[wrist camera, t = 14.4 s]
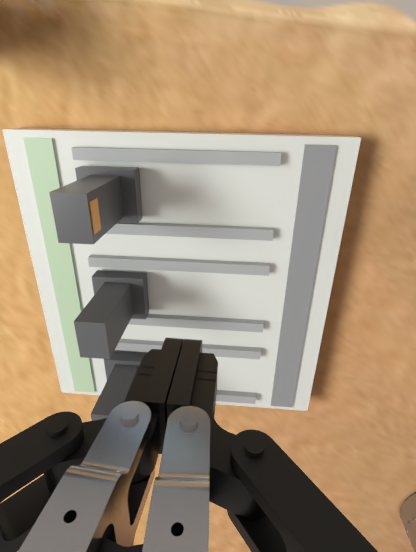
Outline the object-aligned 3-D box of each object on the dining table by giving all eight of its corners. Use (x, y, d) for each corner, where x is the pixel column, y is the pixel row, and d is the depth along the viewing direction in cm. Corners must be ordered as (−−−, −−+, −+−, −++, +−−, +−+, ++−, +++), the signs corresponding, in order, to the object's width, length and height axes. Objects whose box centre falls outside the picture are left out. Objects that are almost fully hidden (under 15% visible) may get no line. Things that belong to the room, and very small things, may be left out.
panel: (352, 135, 24) (411, 147, 15) (303, 395, 34) (323, 483, 26) (19, 128, 25) (-85, 135, 17) (70, 378, 36) (21, 456, 27)
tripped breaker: (139, 167, 23) (104, 186, 17) (142, 218, 25) (111, 251, 19) (82, 165, 24) (29, 183, 18) (89, 216, 25) (42, 248, 19)
